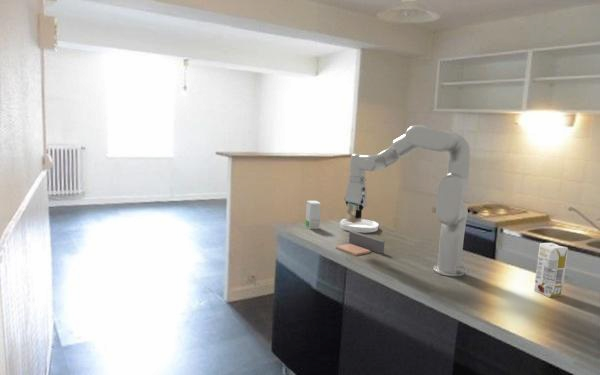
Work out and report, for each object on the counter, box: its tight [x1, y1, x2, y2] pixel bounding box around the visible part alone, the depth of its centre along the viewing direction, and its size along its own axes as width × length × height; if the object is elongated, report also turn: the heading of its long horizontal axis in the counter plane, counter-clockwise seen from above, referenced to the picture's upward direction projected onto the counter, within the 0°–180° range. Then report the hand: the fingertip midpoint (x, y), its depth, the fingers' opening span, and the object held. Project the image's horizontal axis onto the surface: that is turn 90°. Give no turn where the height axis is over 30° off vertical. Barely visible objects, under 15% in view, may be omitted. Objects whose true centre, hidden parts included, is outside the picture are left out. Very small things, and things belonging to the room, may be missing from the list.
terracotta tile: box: [335, 243, 371, 256], centre depth 209 cm, size 14×10×1 cm
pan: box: [339, 218, 380, 234], centre depth 255 cm, size 24×27×4 cm
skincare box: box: [304, 200, 322, 230], centre depth 251 cm, size 8×7×16 cm
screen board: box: [348, 231, 385, 255], centre depth 214 cm, size 22×2×6 cm, turn 38°
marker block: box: [345, 202, 363, 223], centre depth 206 cm, size 5×5×9 cm
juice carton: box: [533, 242, 569, 298], centre depth 161 cm, size 8×9×19 cm
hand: (354, 216), depth 207 cm, fingers closed on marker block, 5 cm apart
